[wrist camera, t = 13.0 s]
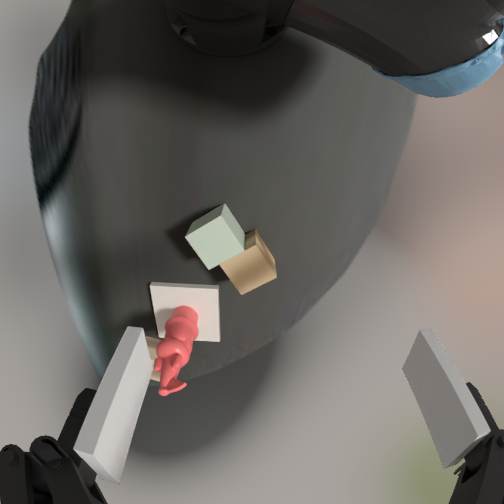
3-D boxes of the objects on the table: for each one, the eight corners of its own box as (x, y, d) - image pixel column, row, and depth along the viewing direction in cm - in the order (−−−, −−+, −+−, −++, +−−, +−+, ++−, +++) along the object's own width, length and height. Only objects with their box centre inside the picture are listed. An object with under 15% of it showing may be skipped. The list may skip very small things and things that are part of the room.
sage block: (192, 222, 39) (184, 236, 34) (224, 202, 38) (221, 215, 33) (213, 252, 41) (208, 269, 36) (245, 234, 39) (244, 250, 35)
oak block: (222, 246, 40) (219, 264, 36) (255, 229, 39) (255, 244, 35) (242, 274, 42) (241, 294, 38) (274, 258, 41) (276, 277, 36)
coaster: (151, 281, 43) (149, 285, 42) (218, 285, 43) (217, 289, 42) (160, 333, 47) (159, 337, 46) (220, 337, 47) (219, 341, 46)
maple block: (146, 335, 47) (137, 355, 43) (174, 343, 48) (168, 364, 43) (144, 354, 49) (136, 374, 45) (170, 362, 50) (165, 382, 46)
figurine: (194, 298, 42) (172, 377, 29) (208, 324, 45) (193, 404, 31) (163, 305, 43) (134, 381, 30) (178, 331, 45) (157, 407, 32)
